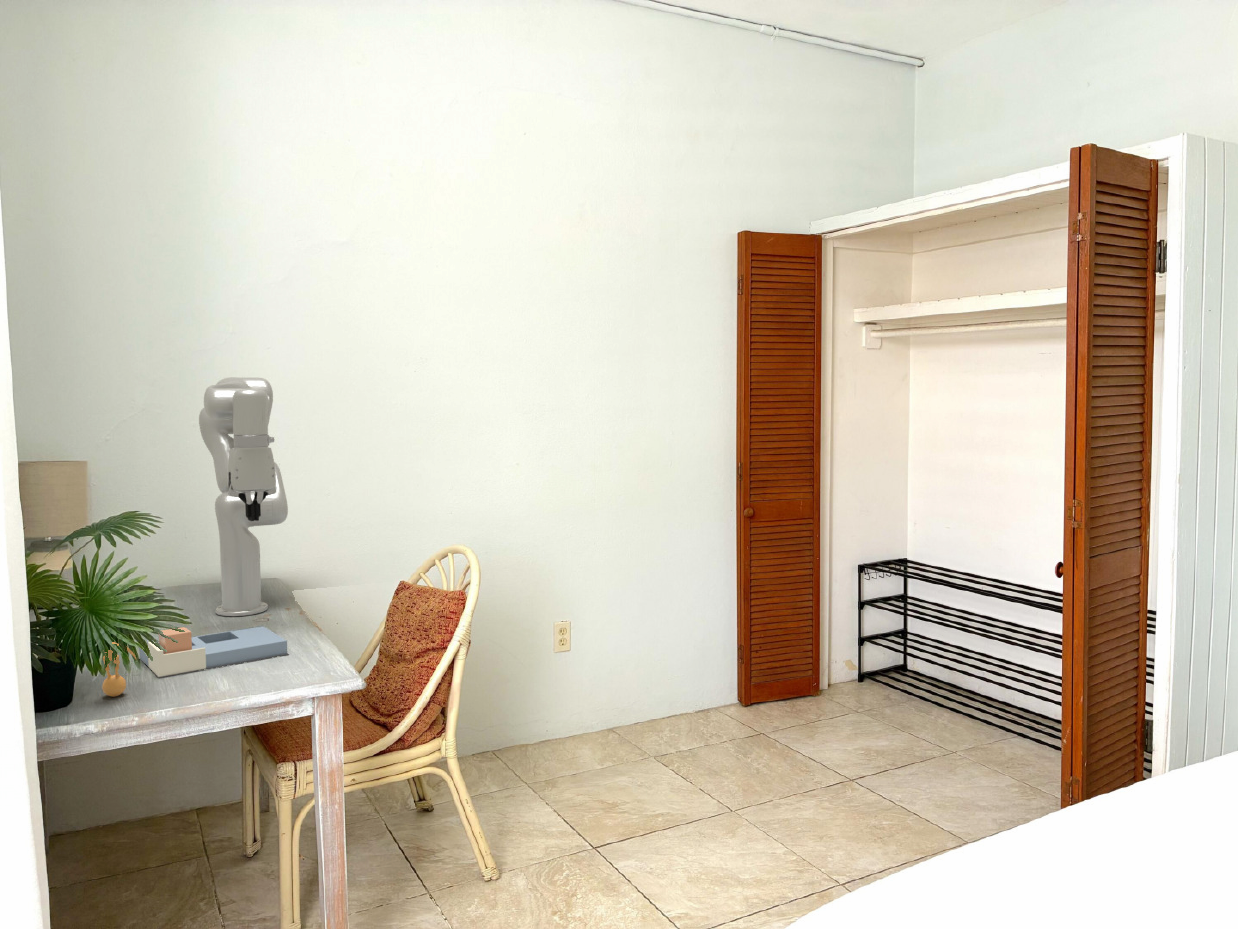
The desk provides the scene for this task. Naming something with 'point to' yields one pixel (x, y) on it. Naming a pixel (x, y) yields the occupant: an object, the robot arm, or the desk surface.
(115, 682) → the figurine
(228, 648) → the slotted holder block
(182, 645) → the cube
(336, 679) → the desk surface
